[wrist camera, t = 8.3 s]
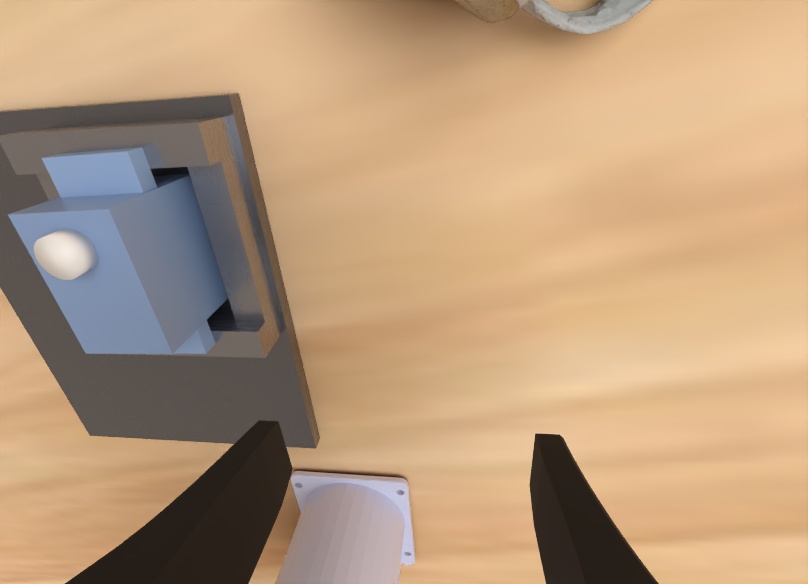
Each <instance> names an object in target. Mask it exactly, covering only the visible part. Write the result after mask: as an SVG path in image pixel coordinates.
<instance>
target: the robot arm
mask: <svg viewBox="0 0 808 584" xmlns="http://www.w3.org/2000/svg"><path fill="white" fill-rule="evenodd" d="M291 473H292V465H291V462H290V459H289V455H288V452H287V448H286V445H285V442H284V438H283V435H282V431H281V428H280V425H279V421H263V420H259V421H258V422H257V423H256V424H254V425H253V426H252V427H251V428H250V429H249V430H248V431H247V432H246V433H245V434H244V435H243V436H242V437H241V438H240V439H239V440H238V441H237V442H236V443H235V444H234V445H233V446H232V447H231V448H230V449H229V450H228V451H227V452H226V453H225V454H224V455H223V456H222V457H221V458H220V459H219V460H217V461H216V462H215V463H214V464H213V465H212V466H211V467H210V468H209V469H208V470H207V471H206V472H205V473H204V474H203V475H202V476H201V477H200V478H199V479H197V480H196V481H195V482H194V483H193V484H192V485H191V486H190V487H189V488H188V489H187V490H185V491H184V492H183V493H182V494H181V495H180V496H179V497H177V498H176V499H175V500H174V501H173V502H172V503H171V504H170V505H168V506H167V507H166V508H165V509H164V510H163V511H162V512H160V513H159V514H158V515H157V516H156V517H154V518H153V519H152V520H151V521H150V522H148V523H147V524H146V525H145V526H143V527H142V528H141V529H140V530H138V531H137V532H136V533H134V534H133V535H132V536H131V537H129V538H128V539H127V540H125V541H124V542H123V543H122V544H120V545H119V546H118V547H116V548H115V549H114V550H112V551H111V552H109V553H108V554H107V555H105V556H104V557H102V558H101V559H99V560H98V561H97V562H95V563H94V564H92V565H91V566H89V567H88V568H87V569H85V570H84V571H82V572H81V573H80V574H78V575H77V576H75V577H74V578H72V579H71V580H70V581H68V582H67V583H65V584H248V583H249V581H250V579H251V576H252V574H253V572H254V569H255V567H256V565H257V562H258V560H259V558H260V555H261V553H262V551H263V548H264V546H265V544H266V541H267V539H268V537H269V535H270V532H271V530H272V527H273V525H274V523H275V520H276V518H277V516H278V513H279V511H280V508H281V506H282V503H283V500H284V497H285V493H286V490H287V487H288V483H289V480H290V479H291V483H292V486H293V489H294V493H295V496H296V499H297V502H298V506H299V509H300V512H301V515H300V517H299V520H298V523H297V526H296V528H295V531H294V534H293V537H292V539H291V542H290V545H289V548H288V550H287V553H286V556H285V559H284V561H283V564H282V567H281V570H280V573H279V575H278V578H277V581H276V584H399V579H400V571H401V564H403V565H413V564H414V563H415V548H414V538H413V528H412V518H411V508H410V498H409V488H408V482H407V481H406V480H405V479H403V478H397V477H382V476H367V475H351V474H336V473H321V472H306V471H295V472H293V473H292V475H291ZM290 476H291V477H290ZM530 492H531V502H532V511H533V520H534V527H535V532H536V537H537V542H538V547H539V551H540V556H541V561H542V566H543V571H544V575H545V580H546V584H658V582H657V581H656V580H655V579H654V577H653V576H652V575H651V573H650V572H649V571H648V569H647V568H646V567H645V566H644V564H643V563H642V562H641V560H640V559H639V558H638V556H637V555H636V553H635V552H634V551H633V549H632V548H631V547H630V545H629V544H628V542H627V541H626V540H625V538H624V537H623V535H622V534H621V533H620V531H619V530H618V528H617V527H616V525H615V524H614V522H613V521H612V520H611V518H610V516H609V515H608V513H607V512H606V510H605V509H604V507H603V506H602V504H601V503H600V501H599V500H598V498H597V497H596V495H595V493H594V492H593V490H592V489H591V487H590V485H589V484H588V482H587V480H586V479H585V477H584V475H583V474H582V472H581V470H580V469H579V467H578V465H577V463H576V461H575V460H574V458H573V456H572V454H571V452H570V450H569V449H568V447H567V445H566V443H565V441H564V439H563V437H561V436H560V435H555V434H535V442H534V451H533V460H532V469H531V477H530Z"/></svg>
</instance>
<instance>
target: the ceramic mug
mask: <svg viewBox="0 0 808 584" xmlns="http://www.w3.org/2000/svg"><path fill="white" fill-rule="evenodd" d="M455 1H456V2H457V3H458V4H460V5H461V6H462V7H464V8H465V9H466V10H468V11H469V12H471V13H472V14H474V15H475V16H477V17H478V18H480V19H481V20H483V21H486V22H496V21H500V20H504V19H507V18H510V17H511V16H512V15H513V14H514V13H515V12H517V11H518V10H519V9H520V8H521V7H522V8H523V10H524V11H526V12H527V13H529V14H530V15H532V16H534V17H535V18H537V19H539V20H541V21H543V22H545V23H547V24H549V25H551V26H553V27H556V28H558V29H560V30H564V31H568V32H572V33H579V34H592V33H596V32H600V31H604V30H608V29H610V28H612V27H615V26H617V25H619V24H622V23H624V22H626V21H627V20H629V19H630V18H631V17H633V16H634V15H636V14H637V13H638V12H640V11H641V10H642V9H643V8H644V7H646V6H647V5H648V4H649V3H651V2H652V1H653V0H600V2H599V3H598V5H596V6H594V7H591V8H589V9H587V10H585V11H573V12H566V13H564V12H561V11H559V10H558V9H556V8H554V7H552V6H550V5H549V4H548V3H547V1H546V0H455Z"/></svg>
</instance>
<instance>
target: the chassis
mask: <svg viewBox="0 0 808 584" xmlns="http://www.w3.org/2000/svg"><path fill="white" fill-rule="evenodd" d="M139 147H142V148H143V151H144V153H145V156H146V159H147V161H148V164H149V167H150V169H151V172H152V175H153V176H164V175H178V174H190V177H191V180H192V183H193V187H194V190H195V193H196V196H197V199H198V203H199V206H200V209H201V212H202V215H203V219H204V222H205V225H206V228H207V231H208V235H209V238H210V241H211V244H212V247H213V251H214V254H215V257H216V260H217V263H218V267H219V270H220V273H221V276H222V279H223V283H224V286H225V289H226V292H227V295H228V299H227V300H226V301H225V302H224V303H223V304H222V305H221V306H220V307H219V308H218V309H217V310H216V311H215V312H214V313H213V314H212V315H211V316H210V317H209V318H208V319H207V322H208V325H209V327H210V330H211V333H212V335H213V338H214V341H215V343H216V344H215V345H214V346H213V347H212V348H211V349H210V350H209V352H208V353H207V354H86V353H85V351H84V350H83V348H82V346H81V344H80V342H79V341H78V339H77V337H76V335H75V334H74V332H73V330H72V328H71V326H70V325H69V323H68V321H67V319H66V318H65V316H64V314H63V312H62V310H61V309H60V307H59V305H58V303H57V302H56V300H55V298H54V296H53V294H52V293H51V291H50V289H49V287H48V286H47V284H46V282H45V280H44V278H43V277H42V275H41V273H40V271H39V270H38V268H37V266H36V264H35V262H34V261H33V259H32V257H31V255H30V254H29V252H28V250H27V248H26V246H25V245H24V243H23V241H22V239H21V238H20V236H19V234H18V232H17V230H16V229H15V227H14V225H13V223H12V222H11V220H10V218H9V216H8V214H11V213H14V212H17V211H20V210H23V209H26V208H29V207H32V206H35V205H37V204H40V203H43V202H46V201H49V200H52V199H55V198H58V197H60V195H59V193H58V191H57V189H56V187H55V185H54V183H53V181H52V179H51V177H50V174H49V172H48V170H47V168H46V166H45V164H44V162H43V160H42V158H44V157H48V156H53V155H57V154H64V153H77V152H89V151H101V150H114V149H126V148H139ZM0 287H1V289H2V291H3V292H4V294H5V296H6V297H7V299H8V301H9V302H10V304H11V306H12V307H13V309H14V311H15V312H16V314H17V316H18V317H19V319H20V321H21V322H22V324H23V326H24V327H25V329H26V330H27V332H28V334H29V335H30V337H31V339H32V340H33V342H34V344H35V345H36V347H37V349H38V350H39V352H40V354H41V355H42V357H43V359H44V360H45V362H46V364H47V365H48V367H49V369H50V370H51V372H52V373H53V375H54V377H55V378H56V380H57V382H58V383H59V385H60V387H61V388H62V390H63V392H64V393H65V395H66V397H67V398H68V400H69V402H70V403H71V405H72V407H73V408H74V410H75V411H76V413H77V415H78V416H79V418H80V420H81V421H82V423H83V425H84V426H85V428H86V430H87V431H88V433H89V435H90V436H108V437H125V438H143V439H160V440H177V441H195V442H212V443H230V444H235V443H236V442H237V441H238V440H239V439H240V438H241V437H242V436H243V435H244V434H245V433H246V432H247V431H248V430H249V429H250V428H251V427H252V426H253V425H254V424H256V423H257V422H258V421H259V420H263V421H279V425H280V428H281V431H282V435H283V438H284V442H285V445H286V447H300V448H316V447H317V444H318V442H319V439H320V437H319V433H318V429H317V424H316V420H315V416H314V412H313V407H312V403H311V399H310V395H309V390H308V386H307V382H306V378H305V373H304V369H303V365H302V361H301V356H300V352H299V348H298V344H297V339H296V335H295V331H294V327H293V322H292V318H291V314H290V310H289V305H288V301H287V297H286V293H285V288H284V284H283V280H282V276H281V271H280V267H279V263H278V259H277V254H276V250H275V246H274V242H273V237H272V233H271V229H270V225H269V220H268V216H267V212H266V208H265V203H264V199H263V195H262V191H261V186H260V182H259V178H258V174H257V169H256V165H255V161H254V157H253V152H252V148H251V144H250V140H249V135H248V131H247V127H246V123H245V118H244V114H243V110H242V106H241V101H240V97H239V93H237V94H224V95H210V96H197V97H183V98H170V99H156V100H143V101H129V102H116V103H102V104H89V105H75V106H62V107H48V108H35V109H21V110H8V111H0Z"/></svg>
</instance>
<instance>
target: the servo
mask: <svg viewBox="0 0 808 584" xmlns="http://www.w3.org/2000/svg"><path fill="white" fill-rule="evenodd" d="M42 160H43V162H44V164H45V166H46V168H47V170H48V172H49V174H50V177H51V179H52V181H53V183H54V185H55V187H56V189H57V191H58V193H59V195H60V197H58V198H55V199H52V200H49V201H46V202H43V203H40V204H37V205H35V206H32V207H29V208H26V209H23V210H20V211H17V212H14V213H11V214H8V216H9V218H10V220H11V222H12V223H13V225H14V227H15V229H16V230H17V232H18V234H19V236H20V238H21V239H22V241H23V243H24V245H25V246H26V248H27V250H28V252H29V254H30V255H31V257H32V259H33V261H34V262H35V264H36V266H37V268H38V270H39V271H40V273H41V275H42V277H43V278H44V280H45V282H46V284H47V286H48V287H49V289H50V291H51V293H52V294H53V296H54V298H55V300H56V302H57V303H58V305H59V307H60V309H61V310H62V312H63V314H64V316H65V318H66V319H67V321H68V323H69V325H70V326H71V328H72V330H73V332H74V334H75V335H76V337H77V339H78V341H79V342H80V344H81V346H82V348H83V350H84V351H85V353H86V354H207V353H208V352H209V350H210V349H211V348H212V347H213V346H214V345H215V344H216V343H215V341H214V338H213V335H212V333H211V330H210V327H209V325H208V322H207V319H208V318H209V317H210V316H211V315H212V314H213V313H214V312H215V311H216V310H217V309H218V308H219V307H220V306H221V305H222V304H223V303H224V302H225V301H226V300H227V299H228V295H227V292H226V289H225V286H224V283H223V279H222V276H221V273H220V270H219V267H218V263H217V260H216V257H215V254H214V251H213V247H212V244H211V241H210V238H209V235H208V231H207V228H206V225H205V222H204V219H203V215H202V212H201V209H200V206H199V203H198V199H197V196H196V193H195V190H194V187H193V183H192V180H191V177H190V174H178V175H164V176H153V175H152V172H151V169H150V167H149V164H148V161H147V159H146V156H145V153H144V151H143V148H142V147H139V148H126V149H114V150H101V151H89V152H77V153H64V154H57V155H53V156H48V157H44V158H42Z"/></svg>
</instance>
